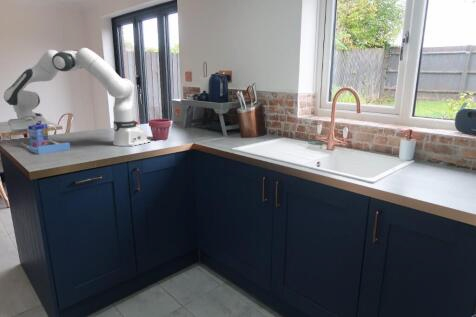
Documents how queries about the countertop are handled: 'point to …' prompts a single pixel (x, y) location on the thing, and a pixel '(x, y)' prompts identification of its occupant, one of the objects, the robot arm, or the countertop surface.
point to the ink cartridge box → (38, 134)
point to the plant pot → (160, 128)
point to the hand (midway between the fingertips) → (33, 135)
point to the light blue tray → (48, 147)
